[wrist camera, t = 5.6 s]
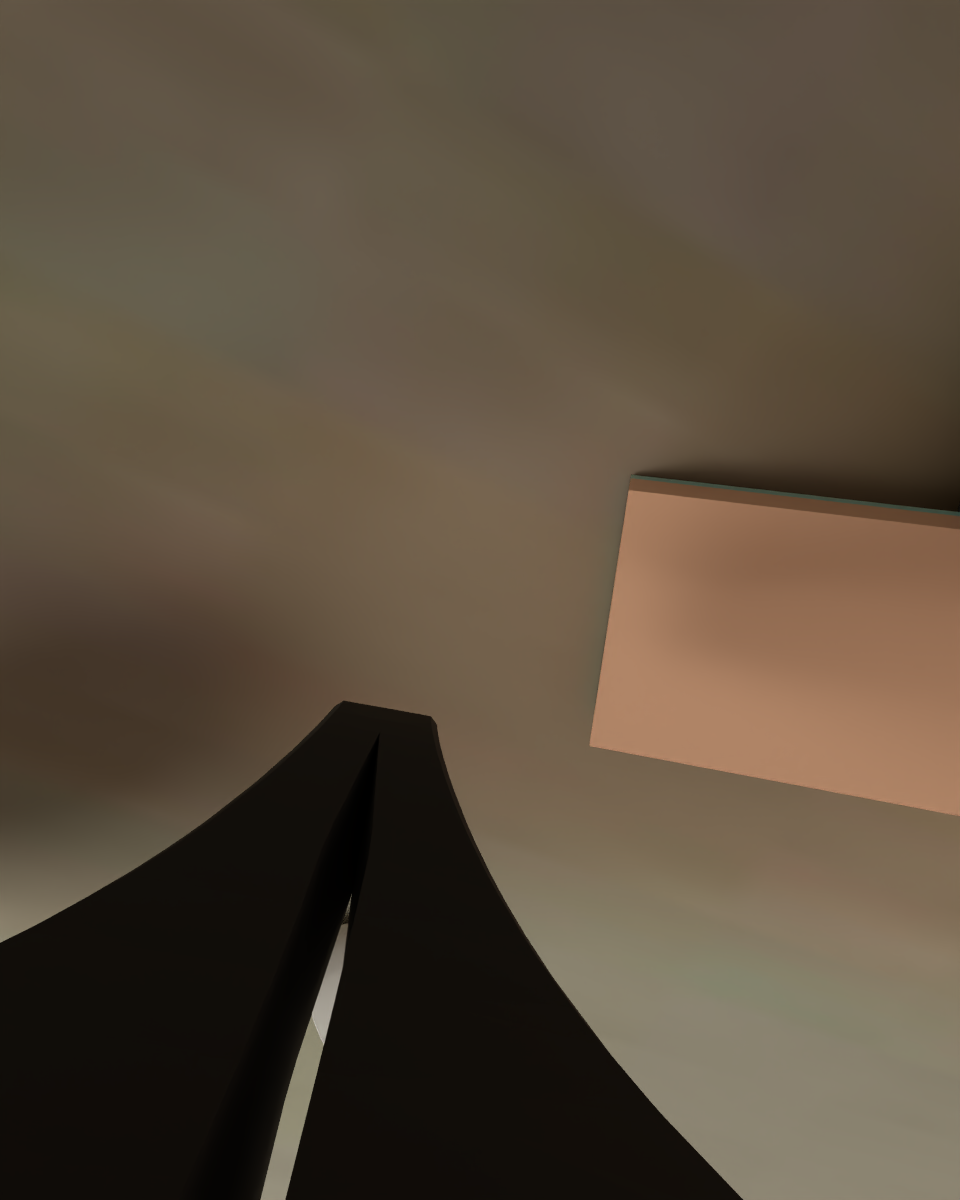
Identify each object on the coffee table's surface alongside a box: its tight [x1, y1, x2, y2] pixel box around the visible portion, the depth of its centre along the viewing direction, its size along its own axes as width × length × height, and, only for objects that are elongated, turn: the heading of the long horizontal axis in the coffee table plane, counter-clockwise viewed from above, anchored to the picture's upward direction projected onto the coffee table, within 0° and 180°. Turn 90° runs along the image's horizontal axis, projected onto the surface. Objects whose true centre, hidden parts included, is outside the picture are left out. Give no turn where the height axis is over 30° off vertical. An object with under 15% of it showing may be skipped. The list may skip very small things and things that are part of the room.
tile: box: [589, 475, 960, 816], centre depth 15 cm, size 2×6×8 cm
